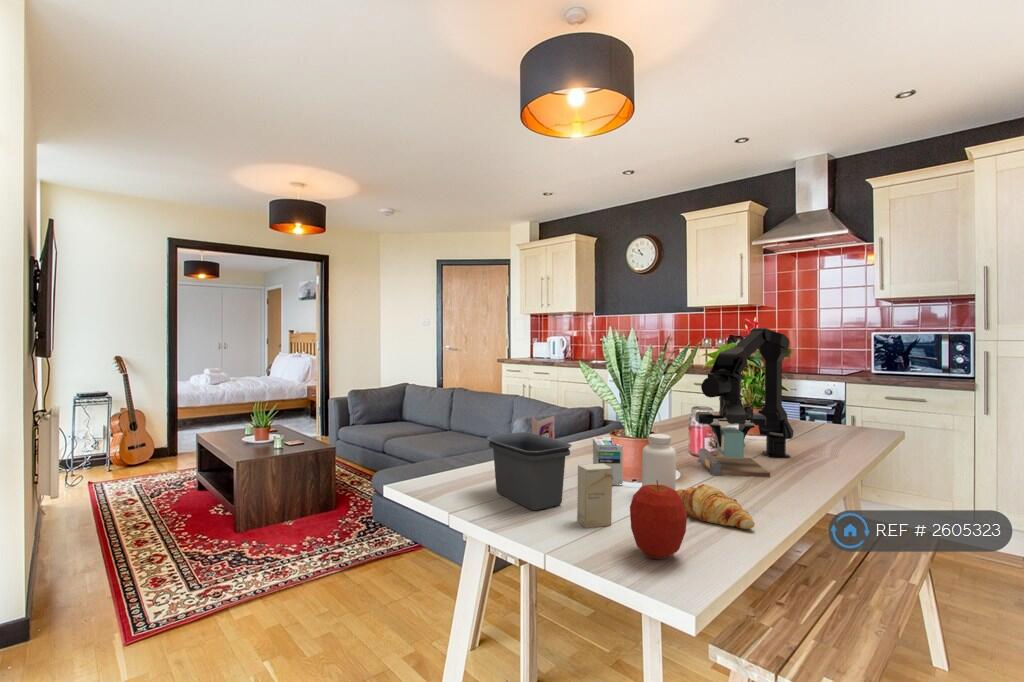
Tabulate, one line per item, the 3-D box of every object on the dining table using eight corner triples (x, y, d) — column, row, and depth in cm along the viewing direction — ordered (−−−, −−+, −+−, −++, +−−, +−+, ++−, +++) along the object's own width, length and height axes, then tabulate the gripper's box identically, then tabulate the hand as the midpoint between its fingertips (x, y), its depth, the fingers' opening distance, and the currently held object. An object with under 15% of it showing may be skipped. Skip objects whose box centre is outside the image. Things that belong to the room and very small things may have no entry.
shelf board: (706, 460, 159) (706, 456, 159) (750, 461, 157) (750, 457, 157) (721, 475, 142) (721, 471, 142) (770, 477, 140) (770, 473, 140)
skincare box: (585, 528, 104) (585, 470, 104) (576, 520, 108) (576, 464, 108) (612, 525, 106) (613, 467, 105) (603, 517, 110) (603, 462, 110)
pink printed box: (539, 474, 143) (539, 421, 143) (516, 470, 147) (517, 419, 146) (556, 465, 153) (557, 415, 153) (535, 462, 157) (535, 413, 156)
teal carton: (724, 456, 146) (724, 432, 146) (716, 449, 155) (716, 426, 155) (743, 457, 145) (743, 433, 145) (734, 450, 154) (734, 427, 154)
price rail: (698, 459, 160) (698, 448, 160) (705, 459, 160) (705, 448, 160) (712, 475, 142) (712, 463, 142) (720, 475, 142) (720, 463, 142)
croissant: (761, 546, 104) (773, 509, 105) (736, 533, 99) (748, 494, 100) (677, 512, 122) (688, 481, 123) (652, 500, 117) (664, 467, 118)
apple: (662, 574, 84) (662, 491, 84) (616, 553, 93) (617, 477, 92) (698, 558, 90) (699, 481, 90) (653, 539, 99) (653, 468, 98)
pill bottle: (678, 502, 120) (678, 439, 120) (643, 500, 121) (643, 438, 121) (673, 491, 128) (673, 432, 127) (640, 490, 129) (640, 431, 129)
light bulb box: (623, 486, 133) (623, 445, 132) (597, 485, 133) (597, 445, 132) (615, 474, 143) (616, 436, 143) (592, 474, 143) (592, 436, 143)
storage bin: (481, 492, 128) (481, 435, 127) (531, 482, 136) (531, 429, 136) (530, 518, 110) (530, 452, 109) (584, 504, 118) (584, 444, 118)
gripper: (703, 398, 143) (703, 452, 143) (773, 399, 140) (773, 455, 141) (695, 393, 154) (694, 444, 154) (760, 394, 151) (759, 446, 152)
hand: (729, 447), depth 150 cm, fingers closed on teal carton, 5 cm apart
